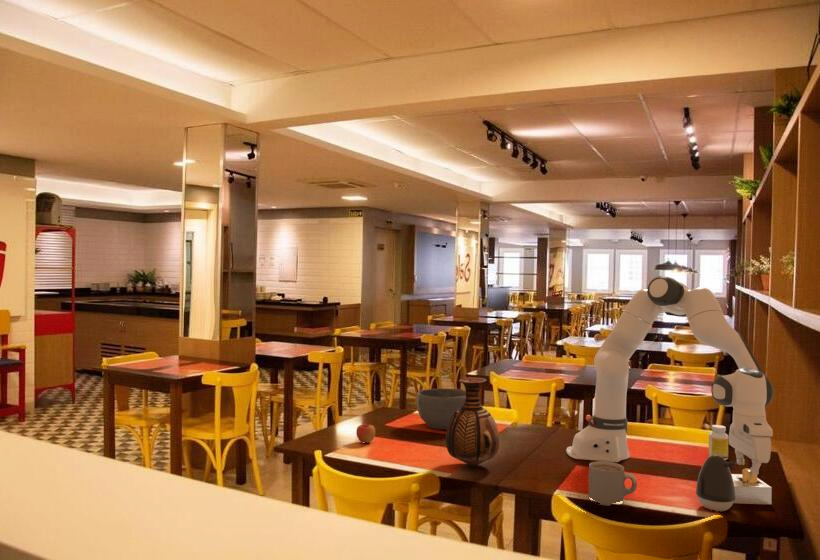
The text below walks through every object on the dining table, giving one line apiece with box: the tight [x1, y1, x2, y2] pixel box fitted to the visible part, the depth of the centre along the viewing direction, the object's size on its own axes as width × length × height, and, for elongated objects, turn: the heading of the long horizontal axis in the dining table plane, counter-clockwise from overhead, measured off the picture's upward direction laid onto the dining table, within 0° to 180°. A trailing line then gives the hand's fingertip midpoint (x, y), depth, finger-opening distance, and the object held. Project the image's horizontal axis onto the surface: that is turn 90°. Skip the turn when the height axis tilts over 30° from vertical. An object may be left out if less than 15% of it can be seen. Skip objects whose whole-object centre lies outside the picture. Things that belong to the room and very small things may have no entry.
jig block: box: [731, 473, 773, 505], centre depth 199 cm, size 14×12×5 cm
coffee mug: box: [588, 461, 638, 507], centre depth 195 cm, size 13×10×10 cm
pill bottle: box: [708, 424, 729, 461], centre depth 241 cm, size 6×6×12 cm
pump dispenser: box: [695, 455, 737, 512], centre depth 189 cm, size 10×10×15 cm
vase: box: [445, 377, 500, 468], centre depth 227 cm, size 21×18×30 cm
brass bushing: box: [741, 468, 758, 484], centre depth 199 cm, size 4×4×8 cm
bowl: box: [415, 387, 466, 430], centre depth 283 cm, size 24×24×15 cm
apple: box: [356, 422, 376, 443], centre depth 256 cm, size 7×7×8 cm
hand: (747, 469), depth 199 cm, fingers open, 8 cm apart
